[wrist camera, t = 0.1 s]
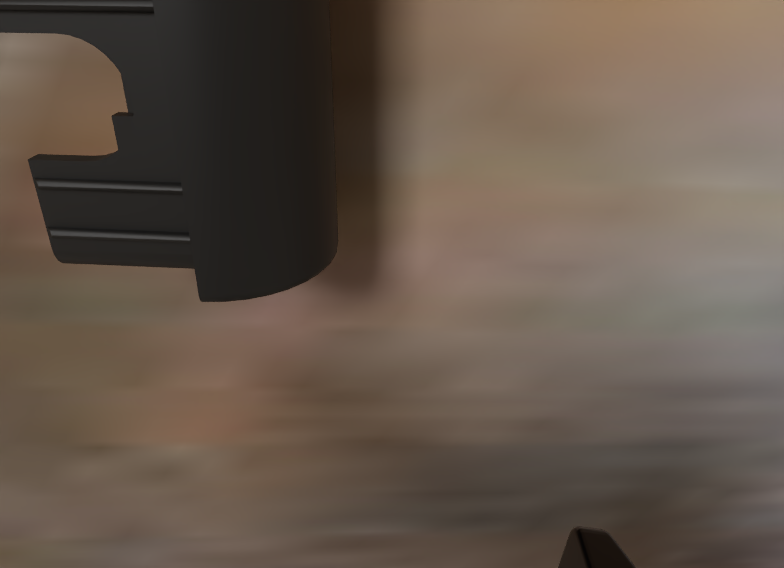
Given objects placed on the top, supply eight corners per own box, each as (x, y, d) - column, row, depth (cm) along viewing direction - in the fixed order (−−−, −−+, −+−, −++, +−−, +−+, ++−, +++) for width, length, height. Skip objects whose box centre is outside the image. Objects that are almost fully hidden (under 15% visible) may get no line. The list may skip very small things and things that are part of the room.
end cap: (353, 211, 22) (318, 311, 16) (154, 204, 23) (49, 299, 17) (345, -132, 17) (291, -169, 11) (93, -132, 18) (-84, -167, 12)
